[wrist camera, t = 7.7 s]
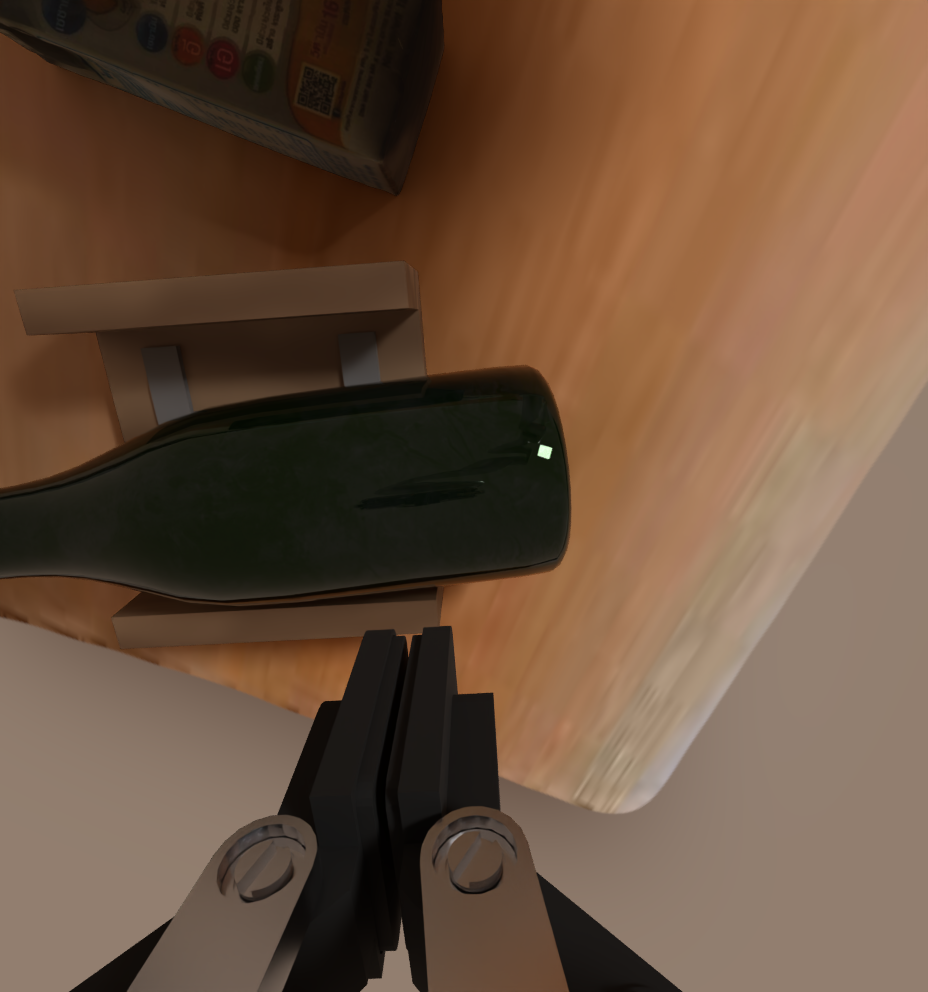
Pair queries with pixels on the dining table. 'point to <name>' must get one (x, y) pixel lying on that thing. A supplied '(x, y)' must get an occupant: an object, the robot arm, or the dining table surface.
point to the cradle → (244, 376)
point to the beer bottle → (313, 495)
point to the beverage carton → (261, 68)
